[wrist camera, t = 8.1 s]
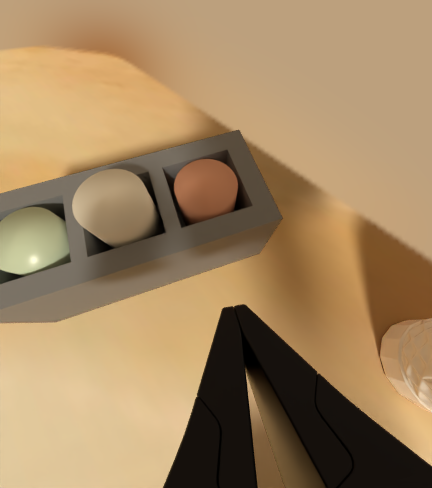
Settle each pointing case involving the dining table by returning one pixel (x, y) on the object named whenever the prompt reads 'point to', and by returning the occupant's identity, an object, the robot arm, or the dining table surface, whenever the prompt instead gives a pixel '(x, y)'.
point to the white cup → (410, 360)
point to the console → (145, 251)
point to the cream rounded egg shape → (116, 208)
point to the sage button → (33, 241)
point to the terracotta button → (205, 190)
